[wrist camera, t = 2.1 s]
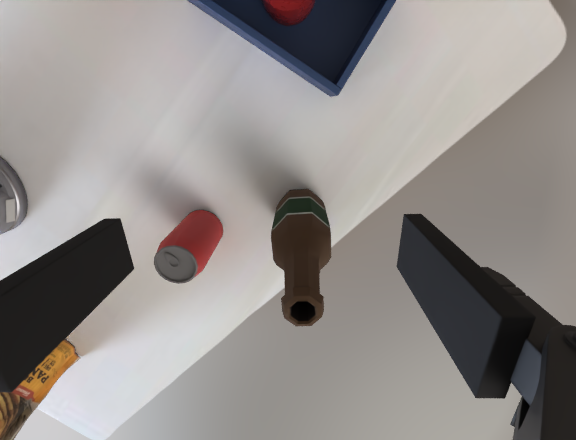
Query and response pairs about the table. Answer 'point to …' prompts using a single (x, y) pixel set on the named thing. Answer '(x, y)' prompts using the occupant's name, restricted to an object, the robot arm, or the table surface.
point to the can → (288, 10)
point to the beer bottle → (301, 253)
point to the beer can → (188, 247)
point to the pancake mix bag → (33, 390)
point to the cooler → (308, 35)
